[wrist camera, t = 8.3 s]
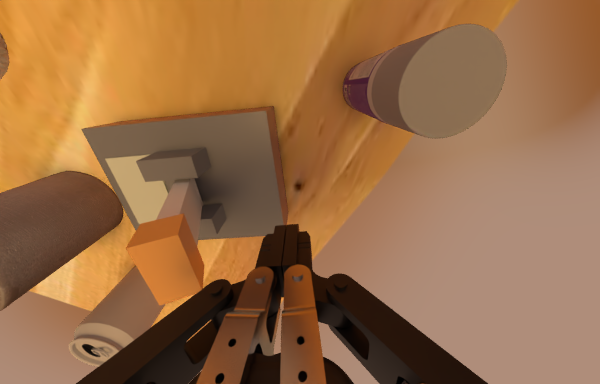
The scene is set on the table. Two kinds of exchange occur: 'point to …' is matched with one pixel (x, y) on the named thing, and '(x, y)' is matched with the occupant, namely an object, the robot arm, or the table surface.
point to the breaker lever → (171, 245)
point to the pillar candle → (50, 227)
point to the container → (431, 81)
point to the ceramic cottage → (3, 58)
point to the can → (116, 321)
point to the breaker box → (199, 168)
